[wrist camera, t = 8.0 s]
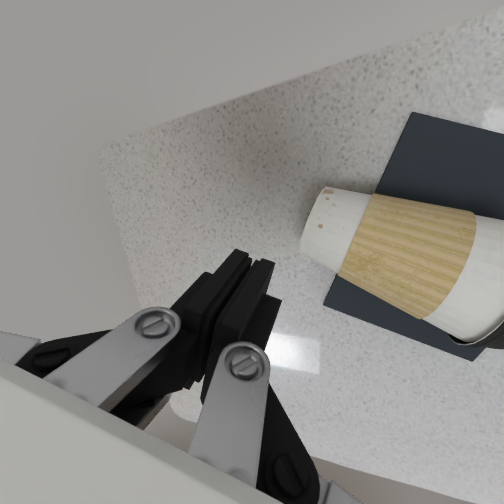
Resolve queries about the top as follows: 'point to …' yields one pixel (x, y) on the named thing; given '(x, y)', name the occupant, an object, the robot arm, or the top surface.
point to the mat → (438, 193)
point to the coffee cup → (415, 259)
